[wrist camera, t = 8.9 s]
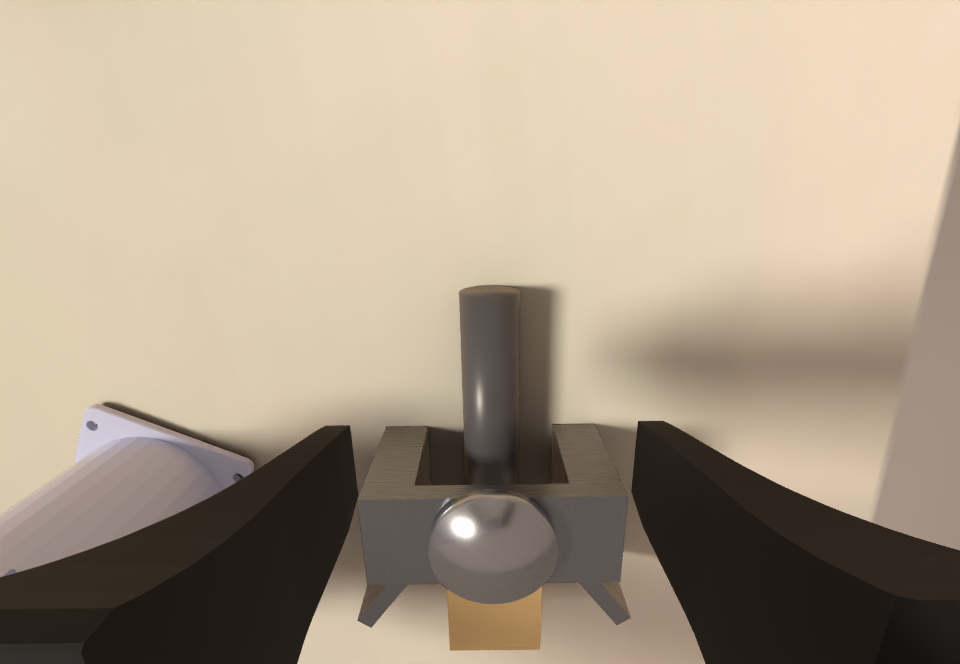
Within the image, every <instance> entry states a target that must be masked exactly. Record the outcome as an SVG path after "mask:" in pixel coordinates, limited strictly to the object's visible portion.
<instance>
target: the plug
mask: <svg viewBox="0 0 960 664" xmlns="http://www.w3.org/2000/svg"><path fill="white" fill-rule="evenodd" d="M459 300H460V330H461V360H462V390H463V420H464V450H465V480H466V485H499V484H519V378H520V290H518V289H516V288H513V287H508V286H497V285H486V286H475V287H469V288H465V289H463V290H461V291H460V292H459ZM447 599H448V619H449V638H450V650H527V649H540V636H541V600H542V587H540V588H539V589H538V590H537V591H535V592H534V593H532V594H531V595H529V596H527V597H525V598H522V599H520V600H517V601H513V602H509V603H503V604H483V603H477V602H473V601H469V600H466V599H464V598H461V597H459V596H457V595H455V594H454V593H452V592H451V591H449V590H448V589H447Z"/></svg>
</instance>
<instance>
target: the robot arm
mask: <svg viewBox="0 0 960 664" xmlns="http://www.w3.org/2000/svg"><path fill="white" fill-rule="evenodd" d="M93 421H94V422H95V423H96V424H97V425H98V426H97V425H95V424H94V422H93ZM253 471H254V464H253V462H252V461H251V460H250V459H248V458H246V457H243V456H241V455H238V454H235V453H233V452H230V451H227V450H224V449H222V448H219V447H216V446H213V445H211V444H208V443H205V442H202V441H200V440H197V439H194V438H191V437H189V436H186V435H183V434H180V433H178V432H175V431H172V430H169V429H167V428H164V427H161V426H158V425H156V424H153V423H150V422H148V421H145V420H142V419H139V418H137V417H134V416H131V415H128V414H126V413H123V412H120V411H117V410H115V409H112V408H109V407H106V406H104V405H100V404H94V405H92V406H90V407H88V408H87V409H86V410H85V411H84V415H83V420H82V425H81V430H80V435H79V440H78V444H77V449H76V454H75V459H74V464H73V465H72V466H71V467H69V468H68V469H66V470H65V471H63V472H62V473H60V474H59V475H57V476H56V477H55V478H53V479H52V480H50V481H49V482H47V483H46V484H44V485H43V486H41V487H40V488H38V489H37V490H36V491H34V492H33V493H31V494H30V495H28V496H27V497H25V498H24V499H22V500H21V501H20V502H18V503H17V504H15V505H14V506H12V507H11V508H9V509H8V510H6V511H5V512H3V513H2V514H1V515H0V664H297V662H298V659H299V656H300V653H301V649H302V646H303V643H304V640H305V637H306V634H307V631H308V629H309V626H310V623H311V621H312V618H313V616H314V613H315V611H316V608H317V606H318V604H319V601H320V599H321V596H322V594H323V592H324V589H325V587H326V585H327V582H328V580H329V577H330V575H331V573H332V570H333V568H334V565H335V563H336V561H337V558H338V556H339V553H340V551H341V549H342V546H343V544H344V541H345V539H346V536H347V534H348V531H349V527H350V524H351V520H352V517H353V513H354V509H355V505H356V501H357V497H358V490H357V481H356V473H355V464H354V456H353V447H352V439H351V430H350V425H346V426H325V427H323V428H321V429H319V430H317V431H316V432H314V433H312V434H311V435H309V436H308V437H306V438H305V439H303V440H302V441H300V442H299V443H297V444H296V445H294V446H293V447H291V448H290V449H288V450H287V451H285V452H284V453H282V454H281V455H279V456H278V457H276V458H275V459H273V460H272V461H270V462H269V463H267V464H265V465H264V466H262V467H261V468H259V469H257V470H256V471H254V472H253ZM237 474H241V475H242V476H243V478H241V477H239V476H238V475H237ZM632 495H633V498H634V501H635V504H636V507H637V510H638V513H639V516H640V519H641V522H642V525H643V528H644V530H645V532H646V534H647V536H648V538H649V541H650V543H651V545H652V547H653V549H654V551H655V553H656V555H657V557H658V559H659V561H660V563H661V565H662V567H663V569H664V571H665V573H666V575H667V577H668V579H669V581H670V583H671V585H672V587H673V590H674V592H675V594H676V596H677V598H678V600H679V602H680V604H681V606H682V608H683V610H684V612H685V614H686V616H687V618H688V621H689V623H690V625H691V627H692V630H693V632H694V634H695V637H696V639H697V642H698V645H699V647H700V650H701V652H702V655H703V658H704V660H705V663H706V664H960V551H959V550H956V549H952V548H949V547H945V546H942V545H938V544H935V543H932V542H929V541H925V540H922V539H918V538H915V537H912V536H909V535H906V534H903V533H900V532H897V531H894V530H890V529H888V528H884V527H882V526H879V525H877V524H874V523H871V522H868V521H866V520H863V519H860V518H857V517H855V516H852V515H849V514H846V513H844V512H841V511H839V510H836V509H834V508H831V507H829V506H826V505H824V504H822V503H819V502H817V501H815V500H812V499H810V498H808V497H806V496H803V495H801V494H799V493H796V492H794V491H792V490H790V489H788V488H785V487H783V486H781V485H779V484H777V483H775V482H773V481H771V480H769V479H767V478H765V477H763V476H761V475H760V474H758V473H756V472H754V471H752V470H750V469H748V468H746V467H744V466H742V465H741V464H739V463H737V462H735V461H733V460H732V459H730V458H728V457H726V456H725V455H723V454H721V453H719V452H718V451H716V450H714V449H712V448H711V447H709V446H707V445H706V444H704V443H702V442H700V441H699V440H697V439H695V438H694V437H692V436H690V435H689V434H687V433H685V432H683V431H682V430H680V429H678V428H676V427H674V426H672V425H671V424H669V423H666V422H664V421H638V428H637V438H636V449H635V460H634V470H633V481H632Z"/></svg>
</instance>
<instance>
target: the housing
mask: <svg viewBox="0 0 960 664" xmlns="http://www.w3.org/2000/svg"><path fill="white" fill-rule="evenodd" d="M357 502H358V510H359V519H360V527H361V535H362V544H363V552H364V561H365V569H366V578H367V589H366V592H365V596H364V599H363V603H362V606H361V610H360V613H359V617H358V620H357V621H359V622H361V623H363V624H365V625H367V626H369V627H372V626H373V625H374V624H375V623H376V621H377V620H378V619H379V618H380V617H381V615H382V614H383V613H384V612H385V611H386V610H387V608H388V607H389V606H390V605H391V604H392V602H393V601H394V600H395V599H396V598H397V596H398V595H399V594H400V593H401V592H402V590H403V589H404V588H405V587H406V586H407V584H442V585H443V586H444V587H446V588H447V589H448V590H449V591H451V592H452V593H454V594H455V595H457V596H459V597H461V598H464V599H466V600H469V601H473V602H477V603H483V604H503V603H509V602H513V601H517V600H520V599H522V598H525V597H527V596H529V595H531V594H532V593H534V592H535V591H537V590H538V589H539V588H540V587H542V586H543V585H544V584H545V583H567V582H579V583H580V584H581V585H582V586H583V587H584V589H585V590H586V591H587V592H588V593H589V594H590V595H591V597H592V598H593V599H594V600H595V601H596V602H597V603H598V604H599V606H600V607H601V608H602V609H603V610H604V611H605V612H606V613H607V615H608V616H609V617H610V618H611V619H612V620H613V621H614V622H615V624H616V625H618V624H620V623H622V622H624V621H626V620H628V619H630V618H631V617H630V614H629V611H628V608H627V605H626V602H625V599H624V596H623V593H622V591H621V588H620V585H619V582H620V578H621V567H622V556H623V546H624V535H625V524H626V513H627V502H628V495H627V493H626V491H625V489H624V487H623V484H622V482H621V480H620V478H619V476H618V474H617V471H616V469H615V467H614V465H613V463H612V461H611V459H610V456H609V454H608V452H607V450H606V448H605V446H604V444H603V441H602V439H601V437H600V435H599V433H598V431H597V429H596V426H595V424H557V425H553V426H552V457H551V484H499V485H431V474H430V457H429V441H428V426H421V427H386V429H385V431H384V434H383V436H382V439H381V441H380V444H379V446H378V449H377V451H376V454H375V456H374V459H373V461H372V464H371V466H370V469H369V471H368V474H367V476H366V479H365V482H364V484H363V487H362V489H361V492H360V494H359V497H358V499H357Z"/></svg>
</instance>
